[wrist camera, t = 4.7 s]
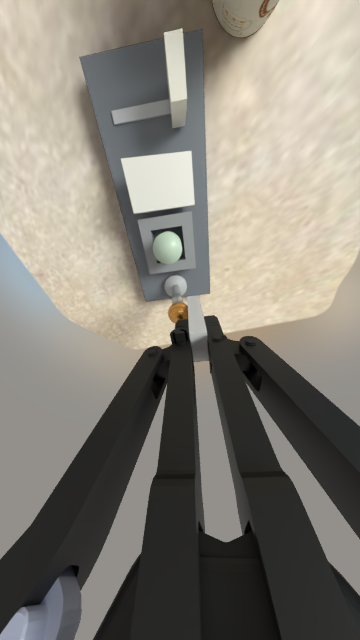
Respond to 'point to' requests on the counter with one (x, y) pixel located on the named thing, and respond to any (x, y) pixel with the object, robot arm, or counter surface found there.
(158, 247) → the button
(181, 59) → the slider
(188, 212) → the panel
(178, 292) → the lever
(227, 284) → the counter surface
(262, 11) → the mug
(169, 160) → the plate
